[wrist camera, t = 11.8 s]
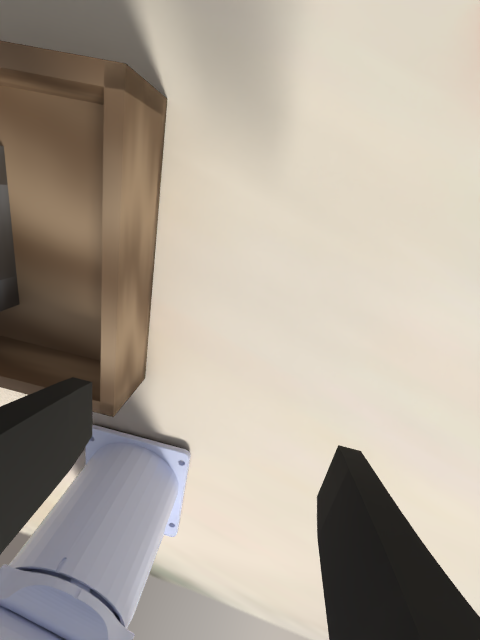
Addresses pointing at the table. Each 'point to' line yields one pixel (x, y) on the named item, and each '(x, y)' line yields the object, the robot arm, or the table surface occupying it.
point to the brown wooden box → (76, 221)
